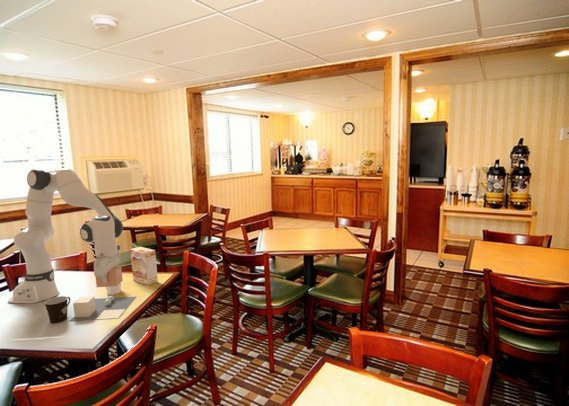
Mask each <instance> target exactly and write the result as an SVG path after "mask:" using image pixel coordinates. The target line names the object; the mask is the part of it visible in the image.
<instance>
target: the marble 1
mask: <svg viewBox="0 0 569 406" xmlns="http://www.w3.org/2000/svg"><path fill="white" fill-rule="evenodd" d="M104 303H105V305H107V306H108V305H110V304H111V300H109V299H107V300H106V301H105V302H104Z"/></svg>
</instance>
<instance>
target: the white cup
mask: <svg viewBox="0 0 569 406" xmlns="http://www.w3.org/2000/svg"><path fill="white" fill-rule="evenodd" d="M121 285H122V282H121V283H120V284H119V285H118V286H111V287H105V290H106V293H107V295H110V296H113V295H116V294H119V293H121V291H122V286H121Z"/></svg>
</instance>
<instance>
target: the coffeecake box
mask: <svg viewBox="0 0 569 406" xmlns="http://www.w3.org/2000/svg"><path fill="white" fill-rule="evenodd" d="M129 252H130V259H131V261H130V263H131V271H132V273H131V274H132V281H133V282H137V283H140V284H142V285H145V286H150V285H153V284H155V283H158V281H159V279H158V268H157V256H156V249H151V248H147V247H143V246H138V247H134V248H130V251H129Z"/></svg>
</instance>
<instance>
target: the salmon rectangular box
mask: <svg viewBox="0 0 569 406" xmlns="http://www.w3.org/2000/svg"><path fill="white" fill-rule="evenodd" d="M122 270H123V269H122V266H116V267H114V268H113V269H112V270H111V271H109V272H108V273H107V276H106V277H107V278H108V282H107V283H103V280H102V278H101V277H95V284H96V288H106V287H111V286H118V285H119V284H120V283H121V284H122V282H123V272H122Z"/></svg>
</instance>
